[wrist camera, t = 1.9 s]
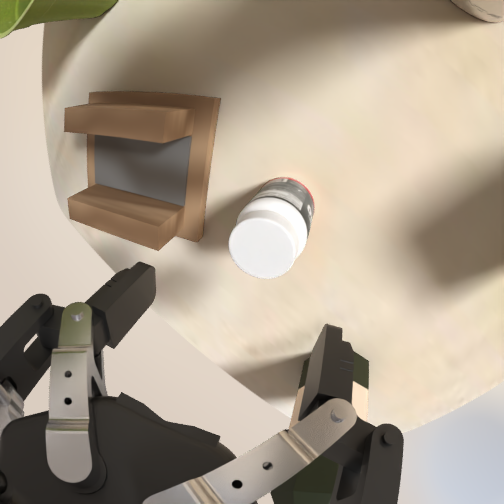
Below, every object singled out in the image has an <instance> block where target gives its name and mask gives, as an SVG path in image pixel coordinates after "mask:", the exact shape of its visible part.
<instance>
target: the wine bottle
mask: <svg viewBox="0 0 504 504" xmlns="http://www.w3.org/2000/svg"><path fill="white" fill-rule="evenodd" d="M309 361H310V358H309V359H307V360H306V361H304V365H303V370H302V375H301V379H300V384H299V388H298V393H297V397H296V401H295V406H294V410H293V414H292V418H291V422H290V426H289V429H290V428H291V427H293V426H294V425H296V424H297V423H299V422H300V421H298V416H299V412H300V407H301V402H302V398H303V393H304V388H305V383H306V378H307V372H308V367H309ZM353 365H354V370H353V390H352V406H353V407H354V408H355V410H356V414H357V415H358V417H360V418H361V419H362V420H364V421H366V422H367V414H368V386H369V361H368V360H366V359H365V358H363V357H362V356H360V355H359V354H357V353H356V352H354V363H353ZM338 468H339V464H338V463H336V462H334V461H332V460H330V459H328V458H326V457H324V456H322V455H319V456H318V457H317V458H316V459H314V460H313V461H312V462H311V463H309V464H308V465H307V466H306V467H304V468H303V469H302V470H300V471H299V472H298V473H296V474H295V475H294V476H292V477H291V478H289V479H288V480H287V481H285V482H284V483H282V484H281V485H279V486H278V487H276V488H275V489H273V490H272V491H271V496H272V498H273V501H274V504H329V503H330V500H331V496H332V492H333V488H334V484H335V480H336V476H337V472H338Z"/></svg>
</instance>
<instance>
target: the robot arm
mask: <svg viewBox="0 0 504 504" xmlns="http://www.w3.org/2000/svg"><path fill="white" fill-rule="evenodd" d="M451 1H452V2H453V3H454V4H456V5H457V6H458V7H459V8H461V9H463V10H464V11H466V12H467V13H469V14H471V15H473V16H475V17H477V18H479V19H482V20H485V21H488V22H502V21H504V0H451ZM155 294H156V284H155V268H154V267H153V266H151V265H148V264H145V263H142V262H138V263H136V264H135V265H134V266H133V267H132V268H131V269H128V268H127V269H124V270H122V271H120V272H118V273H116V274H115V275H114V276H113V277H112V278H111V280H109V281H108V282H106V283H105V285H103V286H102V287H101V288H100V289H99V290H98V291H97V292H96V293H95V294H94V295H92V296H91V297H90V298H89V299H88V300H87V301H86V302H85V303H82V302H75V303H72V304H70V305H68V306H67V307H66V308H65V307H60V306H55V305H52V303H51V300H50V298H49V296H47V295H45V294H36V295H33V296H32V297H30V298H29V299H28V300H27V301H26V302H25V303H24V304H23V305H22V306H21V307H20V308H19V309H18V310H17V311H16V312H15V313H14V314H13V315H12V316H11V317H10V318H9V319H8V320H7V321H6V322H5V323H4V324H3V325H2V326H1V327H0V504H258V503H257V501H256V500H258V499H259V498H261V497H262V496H264V495H266V494H267V493H269V492H270V491H272V490H273V489H275V488H276V487H278V486H279V485H281V484H282V483H284V482H285V481H287V480H288V479H289V478H291V477H292V476H294V475H295V474H296V473H298V472H299V471H300V470H302V469H303V468H304V467H306V466H307V465H308V464H309V463H311V462H312V461H313V460H314V459H316V458H317V457H318V456H319V455H322V456H324V457H326V458H328V459H330V460H332V461H334V462H336V463H338V464H339V468H338V472H337V476H336V480H335V484H334V488H333V492H332V496H331V500H330V503H329V504H397V501H398V494H399V487H400V479H401V469H402V457H403V443H404V442H403V441H404V439H403V435H402V433H401V431H400V430H399V429H398V428H397V427H396V426H394V425H392V424H381V425H379V426H378V427H375V426H373V425H372V424H370V423H368V422H366V421H364V420H362V419H361V418H360V417H358V415H357V414H356V410H355V408H354V407H353V406H352V390H353V370H354V365H353V363H354V351H353V349H352V347H351V344H350V343H349V342H345V341H342V328H340V327H336V326H333V325H329V324H325V326H324V327H323V329H322V332H321V334H320V336H319V338H318V340H317V342H316V344H315V346H314V348H313V350H312V353H311V357H310V361H309V367H308V372H307V378H306V383H305V388H304V393H303V398H302V402H301V407H300V412H299V416H298V421H300V422H299V423H297V424H296V425H294V426H293V427H291V428H290V429H288V430H286V429H285V430H283V431H281V432H279V433H278V434H276V435H274V436H273V437H271V438H270V439H268V440H267V441H265V442H263V443H262V444H260V445H259V446H257V447H255V448H253V449H252V450H250V451H249V452H247V453H245V454H243V455H241V456H240V457H238V458H236V456H235V455H234V454H233V453H232V452H231V451H230V450H229V449H228V448H227V447H225V446H224V445H223V444H221V443H219V439H220V436H218V435H216V434H212V433H210V432H207V431H205V430H202V429H199V428H197V427H195V426H189V425H183V424H178V423H172V422H168V421H165V420H163V419H162V418H161V417H159V416H158V415H157V414H156V413H154V412H153V411H152V410H151V409H149V408H148V407H147V406H146V405H144V404H143V403H141V402H139V401H137V400H135V399H133V398H131V397H130V396H128V395H126V394H124V393H122V392H121V394H120V395H119V397H112V396H108V395H107V391H106V386H105V376H104V357H103V348H104V347H105V345H108V346H109V347H111V348H113V349H114V348H115V347H116V346H117V345H118V343H119V342H120V341H121V340H122V339H123V337H124V336H125V335H126V334H127V333H128V331H129V330H130V329H131V328H132V327H133V325H134V324H135V323H136V322H137V320H138V319H139V318H140V317H141V316H142V315H143V313H144V312H145V311H146V310H147V309H148V308H149V306H150V305H151V304H152V303H153V301H154V298H155ZM35 334H37V336H38V337H37V338H36V340H35V341H34V342H33V343H32V344H31V345H30V346H29V348H28V349H27V350H26V351H25V352H24V347H25V345H26V344H27V343H28V342H29V341H30V339H31V338H32V337H33V336H34V335H35ZM50 366H51V371H50V386H49V410H48V411H45V412H41V413H37V414H33V415H29V416H25V417H24V411H23V408H24V403H23V402H24V400H25V399H26V397H27V396H28V395H29V393H30V392H31V391H32V389H33V388H34V387H35V385H36V384H37V383H38V381H39V380H40V379H41V377H42V376H43V375H44V373H45V372H46V371H47V369H48V368H49V367H50Z"/></svg>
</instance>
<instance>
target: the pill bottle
mask: <svg viewBox="0 0 504 504" xmlns="http://www.w3.org/2000/svg"><path fill="white" fill-rule="evenodd" d="M313 214H314V200H313V196H312V194H311V192H310V191H309V189H308V188H307V187H306V186H305V185H304V184H303V183H301V182H300V181H298V180H296V179H293V178H289V177H280V178H275V179H273V180H271V181H269V182H268V183H266V184H265V185H264V186H263V187H262V188H261V190H260V191H259V192H258V193H257V194H256V195H255V196H254V197H253V199H252V200H251V201H250V202H249V203H248V204H247V205H246V206H245V207H244V208H243V210H242V211H241V213H240V214H239V216H238V219H237V222H236V226H235V227H234V229H233V230H232V232H231V234H230V237H229V251H230V255H231V257H232V259H233V261H234V262H235V264H236V265H237V266H238V267H239V268H240V269H241V270H243V271H244V272H245V273H247V274H249V275H251V276H254V277H257V278H262V279H271V278H276V277H279V276H281V275H283V274H284V273H286V272H287V271H288V270H289V269H290V268H291V266H292V265H293V263H294V260H295V259H296V258H297V257H298V256H299V255H300V254H301V253H302V251H303V249H304V247H305V245H306V242H307V238H308V234H309V230H310V226H311V222H312V218H313Z"/></svg>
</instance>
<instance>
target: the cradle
mask: <svg viewBox="0 0 504 504" xmlns="http://www.w3.org/2000/svg"><path fill="white" fill-rule="evenodd" d="M220 100H221V98H213V97H205V96H196V95H186V94H174V93H158V92H127V91H113V92H91V93H89V104H85V105H79V106H74V107H68V108H65V122H64V132H72V133H84V134H87V173H88V188H87V189H85V190H83V191H81V192H79V193H77V194H75V195H73V196H71V197H69V198H68V207H69V216H70V219H72V220H75V221H77V222H80V223H83V224H85V225H88V226H91V227H93V228H96V229H99V230H101V231H104V232H107V233H110V234H112V235H115V236H118V237H121V238H123V239H126V240H129V241H132V242H135V243H137V244H140V245H143V246H146V247H149V248H152V249H154V250H157V251H159V250H160V249H161V248H162V247H163V246H164V245H165V244H167V243H168V242H169V241H170V240H171V239H172V238H173V237H174V236H178V237H181V238H184V239H187V240H191V241H194V242H198V241H199V240H200V239H201V238H202V236H203V226H204V217H205V208H206V199H207V191H208V183H209V175H210V167H211V160H212V152H213V145H214V138H215V132H216V125H217V118H218V112H219V106H220Z"/></svg>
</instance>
